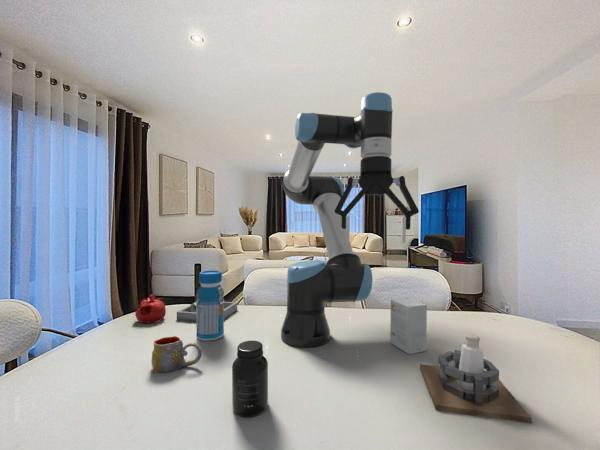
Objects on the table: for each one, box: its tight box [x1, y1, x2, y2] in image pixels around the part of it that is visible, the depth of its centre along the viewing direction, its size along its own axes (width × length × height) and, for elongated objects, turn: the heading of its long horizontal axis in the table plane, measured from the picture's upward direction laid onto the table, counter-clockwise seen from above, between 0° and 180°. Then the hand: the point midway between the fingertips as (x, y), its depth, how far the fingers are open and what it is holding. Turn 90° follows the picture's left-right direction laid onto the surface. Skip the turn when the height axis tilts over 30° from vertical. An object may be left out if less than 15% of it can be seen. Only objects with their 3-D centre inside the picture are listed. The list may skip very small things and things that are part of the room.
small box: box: [389, 297, 428, 355], centre depth 82 cm, size 8×6×13 cm
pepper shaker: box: [457, 332, 486, 392], centre depth 61 cm, size 5×5×11 cm
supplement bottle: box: [231, 340, 269, 418], centre depth 55 cm, size 7×7×12 cm
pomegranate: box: [135, 294, 167, 324], centre depth 103 cm, size 10×10×9 cm
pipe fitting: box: [189, 301, 197, 312], centre depth 111 cm, size 8×4×7 cm
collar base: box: [419, 363, 533, 424], centre depth 61 cm, size 16×16×1 cm
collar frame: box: [438, 349, 500, 406], centre depth 61 cm, size 10×13×5 cm
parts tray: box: [176, 301, 238, 323], centre depth 109 cm, size 16×16×3 cm
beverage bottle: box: [195, 269, 226, 342], centre depth 89 cm, size 8×8×20 cm
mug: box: [150, 335, 203, 374], centre depth 70 cm, size 12×7×7 cm, turn 86°
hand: (374, 242), depth 72 cm, fingers open, 13 cm apart
